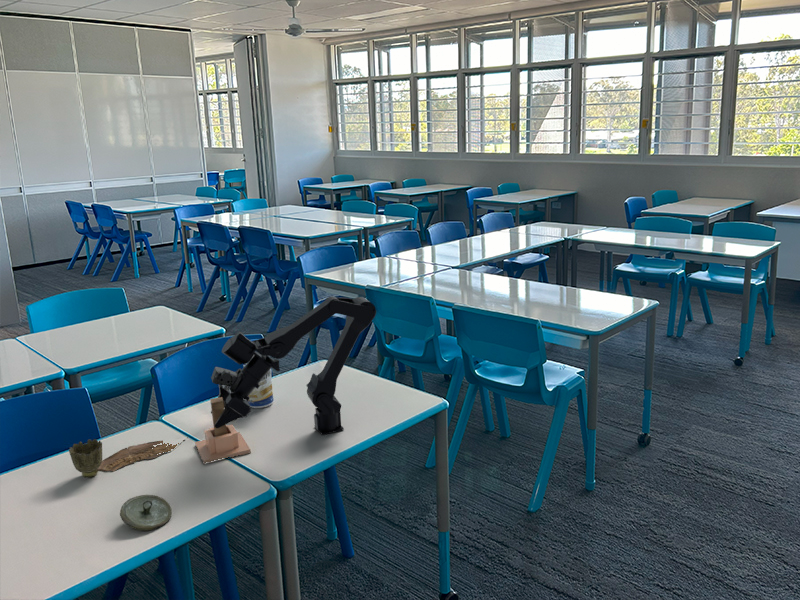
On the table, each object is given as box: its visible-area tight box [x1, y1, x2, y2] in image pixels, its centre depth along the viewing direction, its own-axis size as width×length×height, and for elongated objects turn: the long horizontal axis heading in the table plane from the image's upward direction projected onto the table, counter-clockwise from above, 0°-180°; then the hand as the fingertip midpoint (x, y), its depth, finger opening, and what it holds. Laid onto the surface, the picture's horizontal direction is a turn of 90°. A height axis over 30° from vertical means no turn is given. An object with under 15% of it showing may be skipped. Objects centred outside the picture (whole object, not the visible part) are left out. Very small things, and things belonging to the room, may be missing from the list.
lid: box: [119, 494, 172, 532], centre depth 143 cm, size 11×10×5 cm
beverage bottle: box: [242, 338, 274, 409], centre depth 201 cm, size 8×8×20 cm
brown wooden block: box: [210, 397, 227, 437], centre depth 173 cm, size 3×3×13 cm
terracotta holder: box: [194, 424, 251, 464], centre depth 174 cm, size 12×12×5 cm
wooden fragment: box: [98, 439, 179, 473], centre depth 174 cm, size 26×11×1 cm, turn 128°
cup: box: [68, 438, 103, 479], centre depth 162 cm, size 8×7×8 cm
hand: (213, 420), depth 172 cm, fingers open, 9 cm apart
